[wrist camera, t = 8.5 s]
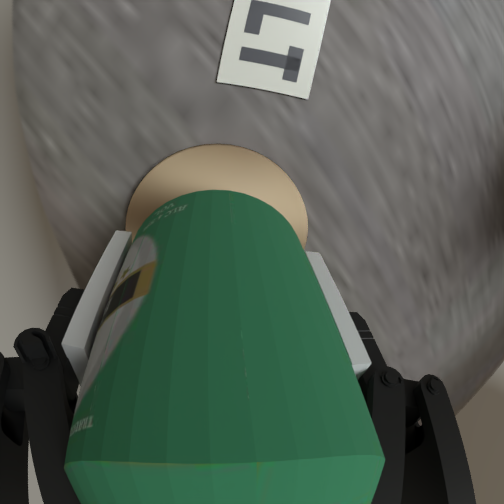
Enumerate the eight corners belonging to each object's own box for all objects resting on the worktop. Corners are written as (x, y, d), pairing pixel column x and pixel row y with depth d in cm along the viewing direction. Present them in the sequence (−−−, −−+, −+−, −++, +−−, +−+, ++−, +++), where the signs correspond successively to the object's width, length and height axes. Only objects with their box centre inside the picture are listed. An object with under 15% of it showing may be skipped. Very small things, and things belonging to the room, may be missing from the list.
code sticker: (241, -26, 9) (241, -27, 9) (331, -5, 10) (331, -5, 9) (216, 82, 12) (216, 81, 12) (307, 99, 13) (308, 99, 13)
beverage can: (169, 150, 11) (27, 513, 1) (328, 225, 14) (459, 477, 4) (119, 289, 15) (68, 517, 5) (249, 332, 17) (278, 535, 7)
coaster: (130, 134, 13) (127, 137, 12) (326, 162, 15) (329, 165, 14) (131, 291, 18) (129, 297, 17) (280, 305, 20) (282, 311, 19)
